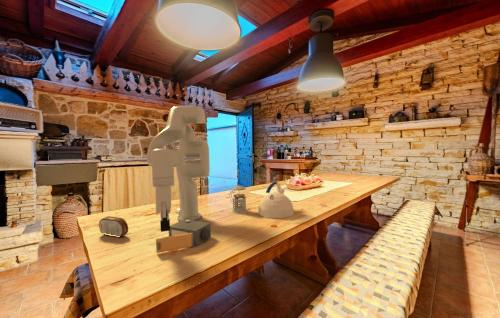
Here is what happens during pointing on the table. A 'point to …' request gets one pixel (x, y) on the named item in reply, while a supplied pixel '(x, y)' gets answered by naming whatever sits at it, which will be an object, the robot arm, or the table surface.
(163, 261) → the table surface
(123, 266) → the table surface
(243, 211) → the french press
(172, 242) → the side door
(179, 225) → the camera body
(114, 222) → the tin
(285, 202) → the kettle
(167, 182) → the robot arm
